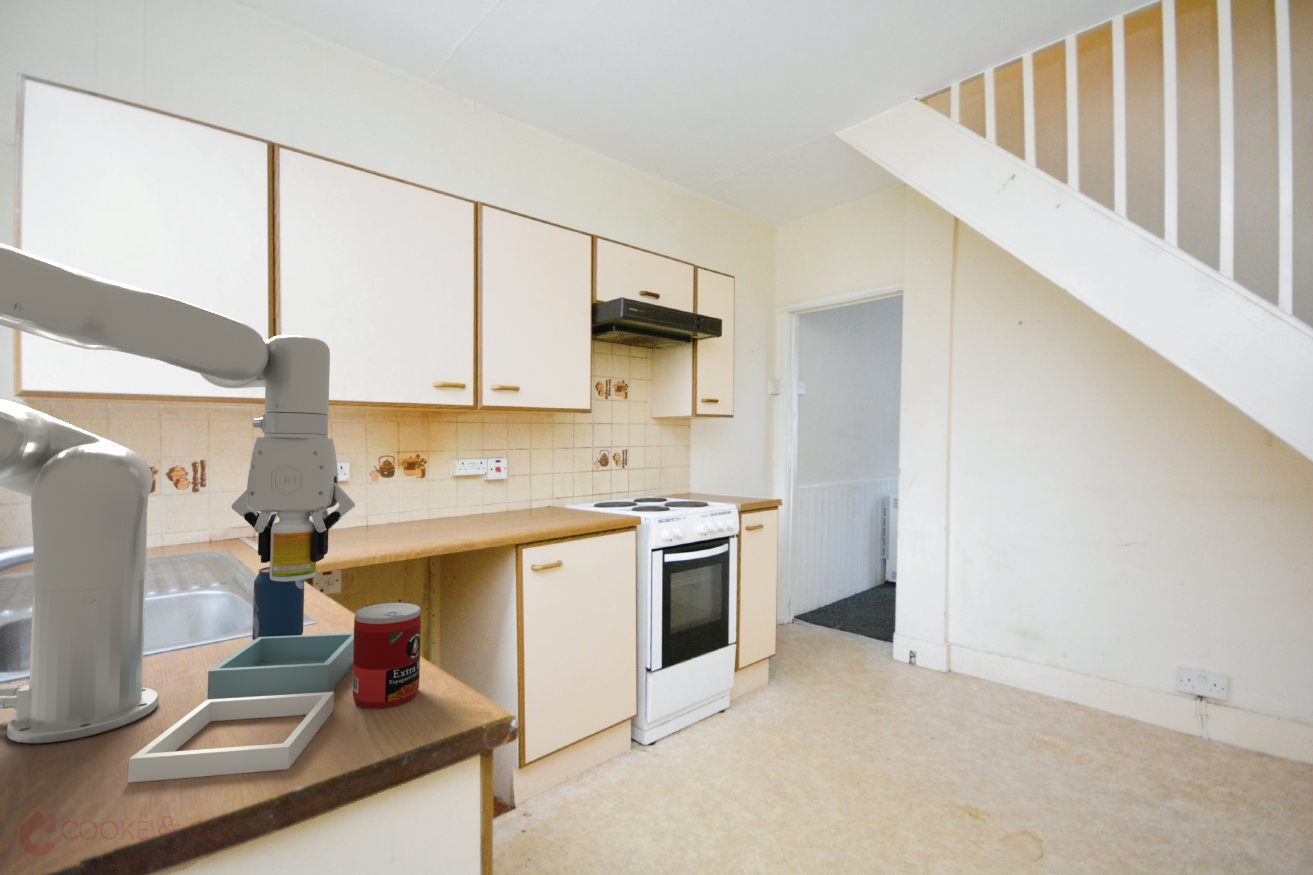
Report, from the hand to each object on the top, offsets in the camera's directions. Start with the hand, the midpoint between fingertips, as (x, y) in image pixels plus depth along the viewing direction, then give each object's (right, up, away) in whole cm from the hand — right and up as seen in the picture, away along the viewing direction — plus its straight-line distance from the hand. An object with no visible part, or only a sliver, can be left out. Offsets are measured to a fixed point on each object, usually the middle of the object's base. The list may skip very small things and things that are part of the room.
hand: (293, 559), depth 82 cm
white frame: (+5, -16, -17) cm, 24 cm away
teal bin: (0, -16, 0) cm, 16 cm away
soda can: (-12, -17, +15) cm, 25 cm away
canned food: (+15, -17, -5) cm, 23 cm away
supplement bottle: (0, -3, 0) cm, 3 cm away
